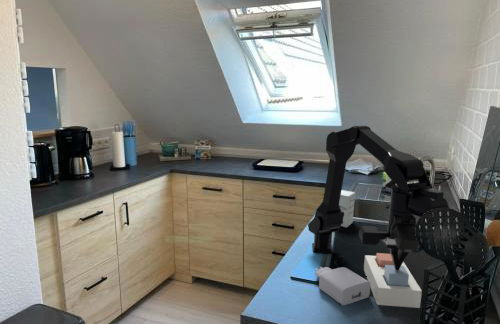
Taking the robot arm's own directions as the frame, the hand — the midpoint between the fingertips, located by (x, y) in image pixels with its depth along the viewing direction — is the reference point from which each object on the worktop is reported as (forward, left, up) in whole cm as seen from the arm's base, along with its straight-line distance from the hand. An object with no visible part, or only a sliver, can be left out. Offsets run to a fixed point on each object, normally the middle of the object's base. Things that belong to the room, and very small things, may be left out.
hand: (396, 269), depth 95 cm
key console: (-5, 0, -8) cm, 9 cm away
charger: (-3, -14, -8) cm, 17 cm away
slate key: (0, 0, -5) cm, 5 cm away
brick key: (-10, 0, -6) cm, 12 cm away
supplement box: (-53, -7, -8) cm, 54 cm away
